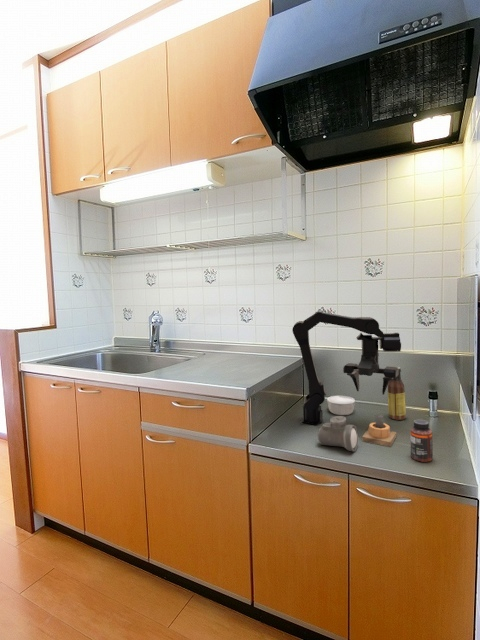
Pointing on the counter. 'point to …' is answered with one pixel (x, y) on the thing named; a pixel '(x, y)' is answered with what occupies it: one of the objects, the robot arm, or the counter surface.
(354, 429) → the pipe fitting
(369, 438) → the shaft post
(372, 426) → the ring
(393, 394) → the sauce bottle
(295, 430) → the counter surface
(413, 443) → the supplement bottle
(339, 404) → the ramekin
